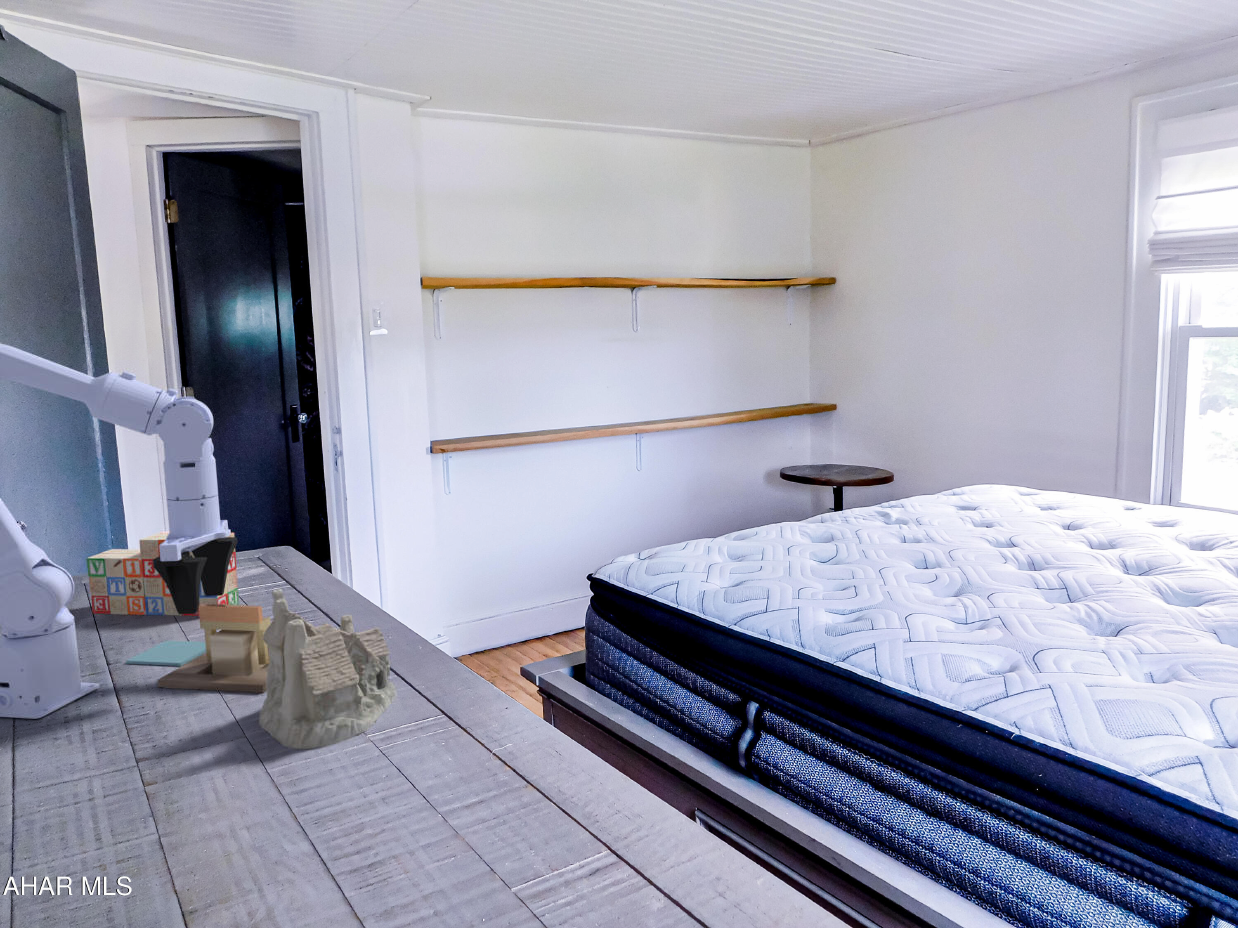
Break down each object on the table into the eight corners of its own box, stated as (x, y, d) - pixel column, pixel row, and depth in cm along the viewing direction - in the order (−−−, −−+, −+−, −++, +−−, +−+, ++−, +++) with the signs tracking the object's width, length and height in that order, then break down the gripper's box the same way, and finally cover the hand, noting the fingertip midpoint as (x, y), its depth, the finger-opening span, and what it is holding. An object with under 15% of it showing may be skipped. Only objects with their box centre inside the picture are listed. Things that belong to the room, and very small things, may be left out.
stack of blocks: (90, 615, 137) (83, 538, 135) (117, 603, 143) (110, 530, 142) (219, 616, 135) (213, 539, 133) (240, 605, 141) (234, 531, 139)
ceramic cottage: (279, 757, 87) (277, 610, 86) (247, 709, 101) (245, 581, 100) (427, 727, 96) (427, 593, 95) (379, 686, 109) (378, 569, 108)
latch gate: (262, 667, 109) (258, 607, 108) (203, 664, 110) (198, 605, 109) (273, 659, 111) (269, 601, 110) (215, 657, 113) (210, 600, 112)
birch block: (245, 679, 109) (241, 637, 108) (213, 678, 109) (209, 636, 108) (264, 666, 113) (261, 626, 112) (233, 665, 114) (230, 625, 113)
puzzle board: (263, 692, 104) (262, 684, 104) (158, 687, 106) (157, 679, 106) (338, 640, 123) (338, 633, 122) (248, 636, 125) (247, 629, 125)
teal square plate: (180, 666, 113) (180, 663, 113) (126, 663, 115) (126, 660, 115) (218, 645, 121) (218, 642, 121) (166, 643, 123) (166, 640, 122)
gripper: (199, 506, 99) (209, 620, 101) (248, 486, 114) (255, 586, 116) (137, 508, 99) (147, 622, 101) (193, 487, 113) (202, 588, 115)
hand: (201, 603), depth 108 cm, fingers open, 7 cm apart
